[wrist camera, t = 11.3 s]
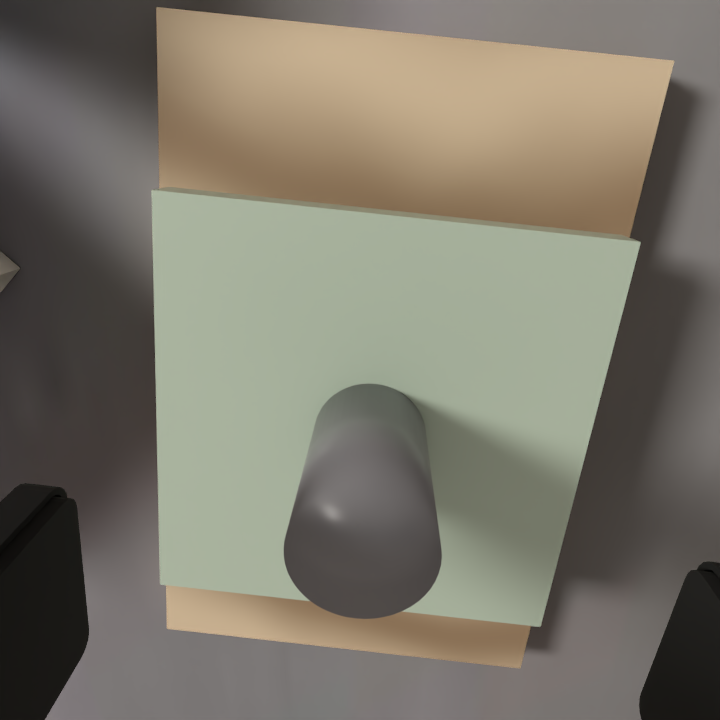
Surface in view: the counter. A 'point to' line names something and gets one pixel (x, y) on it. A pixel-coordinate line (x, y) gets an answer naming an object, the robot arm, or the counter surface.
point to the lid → (374, 401)
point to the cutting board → (396, 194)
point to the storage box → (6, 270)
